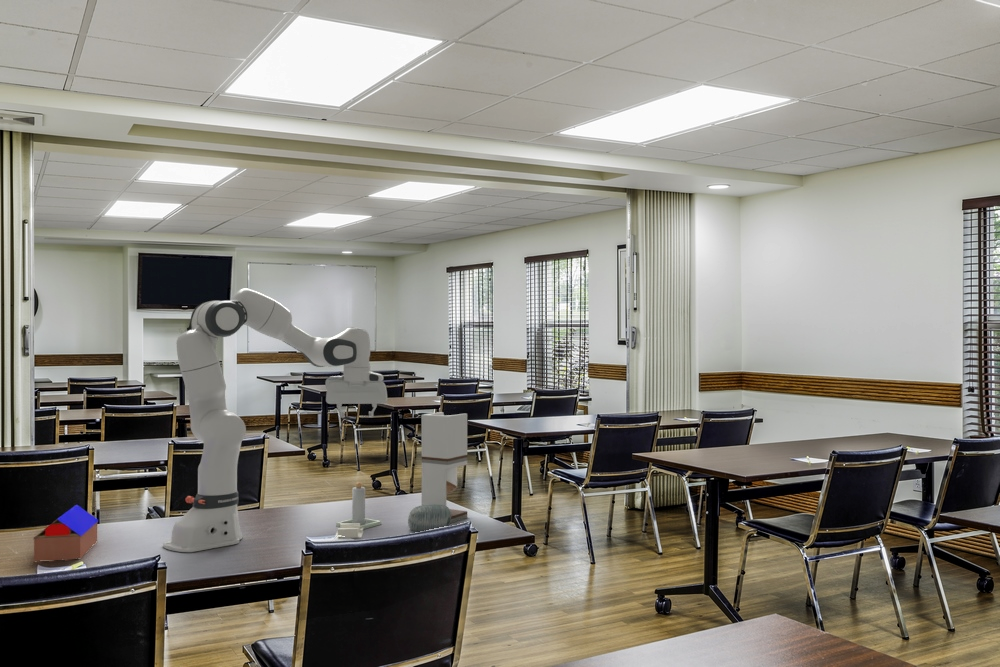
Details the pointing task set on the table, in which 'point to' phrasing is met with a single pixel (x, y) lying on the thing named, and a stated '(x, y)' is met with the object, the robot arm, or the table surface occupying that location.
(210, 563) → the table surface
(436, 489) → the notched white block
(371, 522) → the tray
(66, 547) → the house
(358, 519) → the gray bottle
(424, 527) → the grey furry rounded block
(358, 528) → the white toy chair
